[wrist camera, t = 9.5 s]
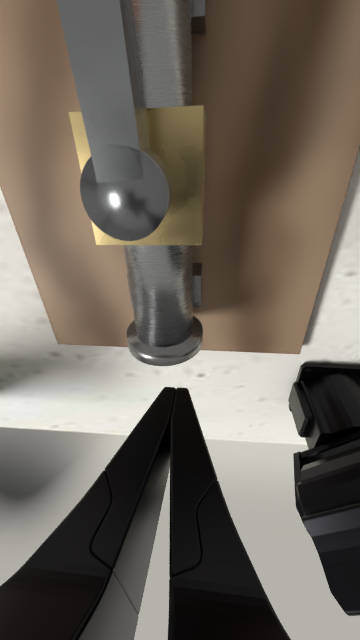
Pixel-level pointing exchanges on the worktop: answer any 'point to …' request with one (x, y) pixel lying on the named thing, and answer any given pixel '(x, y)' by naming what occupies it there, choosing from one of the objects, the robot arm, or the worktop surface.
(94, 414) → the worktop surface
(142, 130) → the lever
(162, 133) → the valve body
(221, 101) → the mounting board
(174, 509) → the robot arm
